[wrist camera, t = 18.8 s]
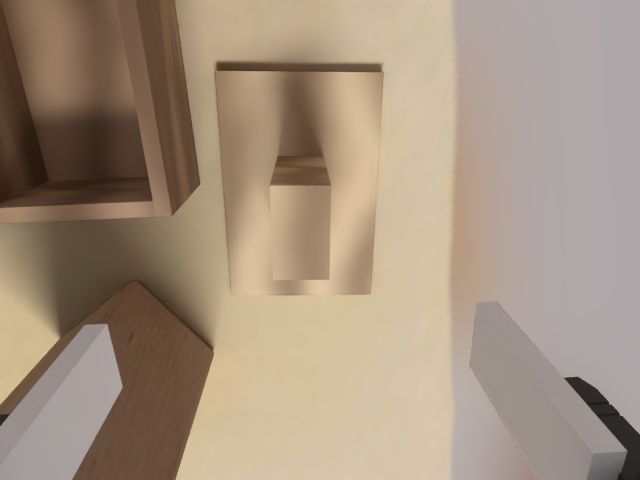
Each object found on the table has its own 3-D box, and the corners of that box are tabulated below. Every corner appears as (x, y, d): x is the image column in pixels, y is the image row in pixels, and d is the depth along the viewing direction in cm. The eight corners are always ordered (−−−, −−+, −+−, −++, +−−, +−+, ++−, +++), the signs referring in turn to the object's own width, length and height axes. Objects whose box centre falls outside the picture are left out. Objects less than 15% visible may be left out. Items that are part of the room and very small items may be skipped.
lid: (233, 289, 38) (211, 361, 29) (217, 70, 32) (182, 71, 22) (368, 287, 39) (390, 358, 29) (380, 72, 32) (414, 73, 23)
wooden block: (136, 276, 37) (-31, 483, 19) (217, 351, 40) (144, 594, 22) (58, 339, 39) (-163, 584, 20) (141, 406, 42) (14, 672, 24)
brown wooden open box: (46, 191, 34) (-76, 249, 23) (-38, -114, 27) (-273, -242, 16) (351, 177, 35) (374, 228, 24) (348, -125, 28) (379, -256, 16)
